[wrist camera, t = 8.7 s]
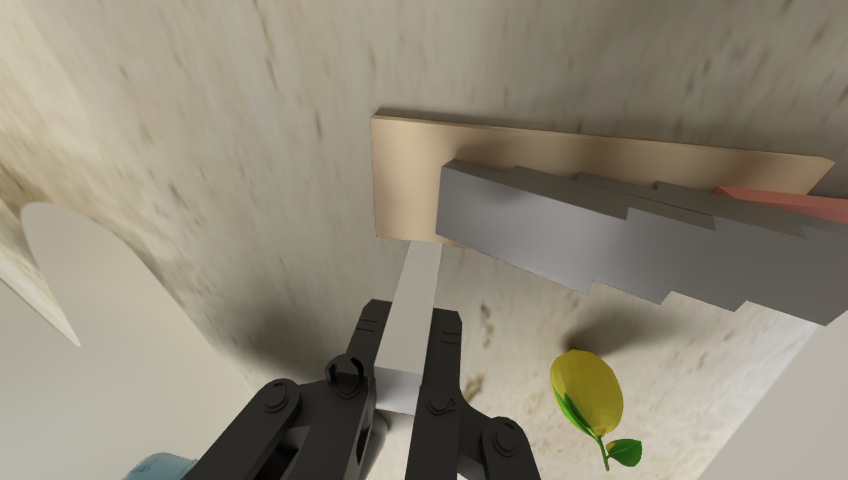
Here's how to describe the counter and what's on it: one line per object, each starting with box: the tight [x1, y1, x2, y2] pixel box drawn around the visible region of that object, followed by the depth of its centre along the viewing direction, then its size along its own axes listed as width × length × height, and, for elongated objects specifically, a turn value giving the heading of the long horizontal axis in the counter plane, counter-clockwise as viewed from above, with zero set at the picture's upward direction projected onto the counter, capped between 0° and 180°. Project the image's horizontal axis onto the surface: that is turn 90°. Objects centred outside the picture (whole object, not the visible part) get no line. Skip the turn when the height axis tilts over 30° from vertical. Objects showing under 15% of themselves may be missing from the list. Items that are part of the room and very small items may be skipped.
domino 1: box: [435, 159, 628, 294], centre depth 18 cm, size 2×5×10 cm
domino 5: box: [652, 181, 848, 326], centre depth 17 cm, size 2×5×10 cm
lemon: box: [550, 349, 642, 471], centre depth 26 cm, size 7×6×10 cm
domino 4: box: [713, 186, 848, 224], centre depth 18 cm, size 2×5×10 cm
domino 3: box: [576, 172, 808, 312], centre depth 18 cm, size 2×5×10 cm
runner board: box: [370, 115, 836, 249], centre depth 20 cm, size 26×9×1 cm, turn 87°
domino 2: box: [508, 165, 717, 305], centre depth 18 cm, size 2×5×10 cm
